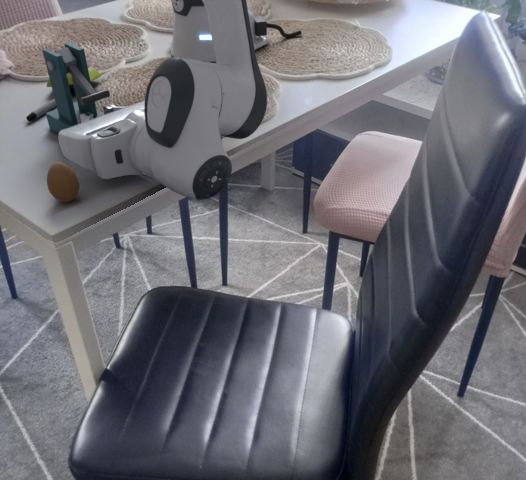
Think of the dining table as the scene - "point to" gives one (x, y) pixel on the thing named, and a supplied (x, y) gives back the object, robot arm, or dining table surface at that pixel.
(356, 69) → the dining table surface
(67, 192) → the egg
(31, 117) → the pen
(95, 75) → the saucer
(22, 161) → the dining table surface
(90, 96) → the lever
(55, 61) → the teal axle stand
